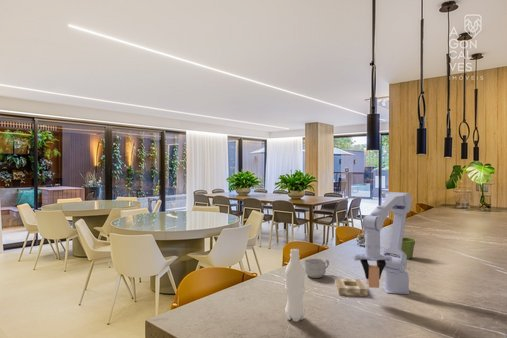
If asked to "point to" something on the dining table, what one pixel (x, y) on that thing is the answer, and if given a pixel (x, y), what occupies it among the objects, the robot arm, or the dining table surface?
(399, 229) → the robot arm
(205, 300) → the dining table surface
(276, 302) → the dining table surface
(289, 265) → the water bottle
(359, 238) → the passion flower
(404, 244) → the plant pot
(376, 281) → the terracotta peg
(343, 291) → the birch socket block
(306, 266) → the teacup
